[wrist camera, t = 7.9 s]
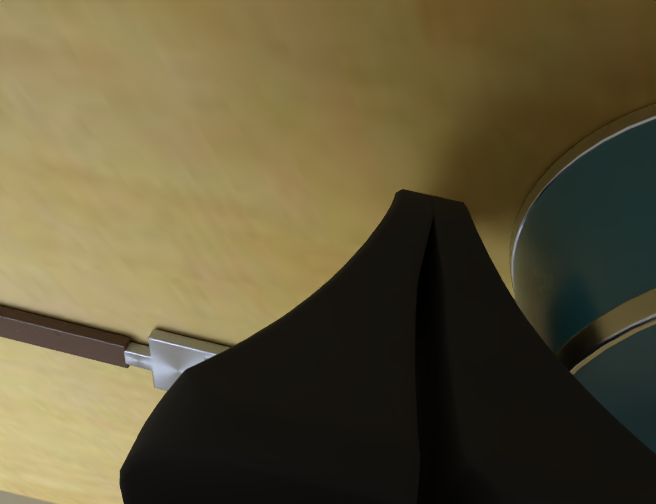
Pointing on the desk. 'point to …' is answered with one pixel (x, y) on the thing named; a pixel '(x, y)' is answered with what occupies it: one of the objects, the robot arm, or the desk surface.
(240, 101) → the desk surface
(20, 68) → the desk surface
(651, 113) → the tin can
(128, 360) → the fork
